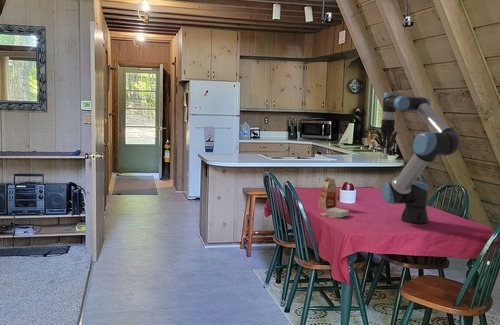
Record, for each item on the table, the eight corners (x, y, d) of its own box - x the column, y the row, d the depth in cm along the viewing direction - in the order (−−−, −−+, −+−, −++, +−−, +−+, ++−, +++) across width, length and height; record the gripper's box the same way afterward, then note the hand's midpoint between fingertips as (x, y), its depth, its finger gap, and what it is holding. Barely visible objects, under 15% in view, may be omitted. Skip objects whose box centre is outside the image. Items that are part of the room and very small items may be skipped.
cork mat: (348, 214, 288) (348, 214, 288) (336, 218, 277) (336, 218, 277) (330, 211, 296) (330, 210, 296) (318, 214, 285) (318, 214, 285)
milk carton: (325, 209, 299) (327, 178, 296) (317, 206, 307) (319, 175, 305) (337, 209, 302) (340, 177, 300) (330, 206, 311) (332, 175, 308)
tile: (349, 210, 285) (334, 207, 291) (341, 212, 278) (326, 209, 284) (348, 215, 286) (334, 212, 292) (340, 218, 278) (325, 214, 284)
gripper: (401, 119, 282) (398, 159, 285) (380, 118, 290) (377, 157, 293) (396, 119, 277) (393, 160, 280) (375, 118, 285) (372, 158, 288)
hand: (385, 158), depth 287 cm, fingers closed
